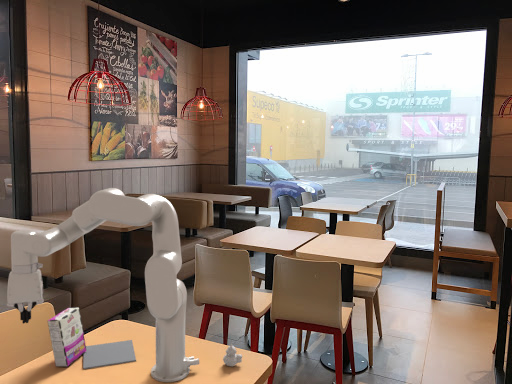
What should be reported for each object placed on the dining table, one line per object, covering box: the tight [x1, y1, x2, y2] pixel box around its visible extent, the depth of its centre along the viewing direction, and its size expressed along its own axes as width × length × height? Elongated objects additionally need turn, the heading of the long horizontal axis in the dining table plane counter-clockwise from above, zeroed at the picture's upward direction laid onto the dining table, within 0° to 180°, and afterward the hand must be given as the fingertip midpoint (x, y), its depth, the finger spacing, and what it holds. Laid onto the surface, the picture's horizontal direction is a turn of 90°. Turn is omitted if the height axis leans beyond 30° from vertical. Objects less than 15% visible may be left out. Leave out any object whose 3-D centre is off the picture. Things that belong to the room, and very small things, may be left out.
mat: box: [82, 339, 137, 370], centre depth 153 cm, size 17×16×1 cm
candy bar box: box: [47, 307, 87, 368], centre depth 147 cm, size 11×5×16 cm, turn 168°
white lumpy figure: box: [222, 342, 243, 367], centre depth 147 cm, size 5×7×8 cm
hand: (25, 321), depth 142 cm, fingers closed
